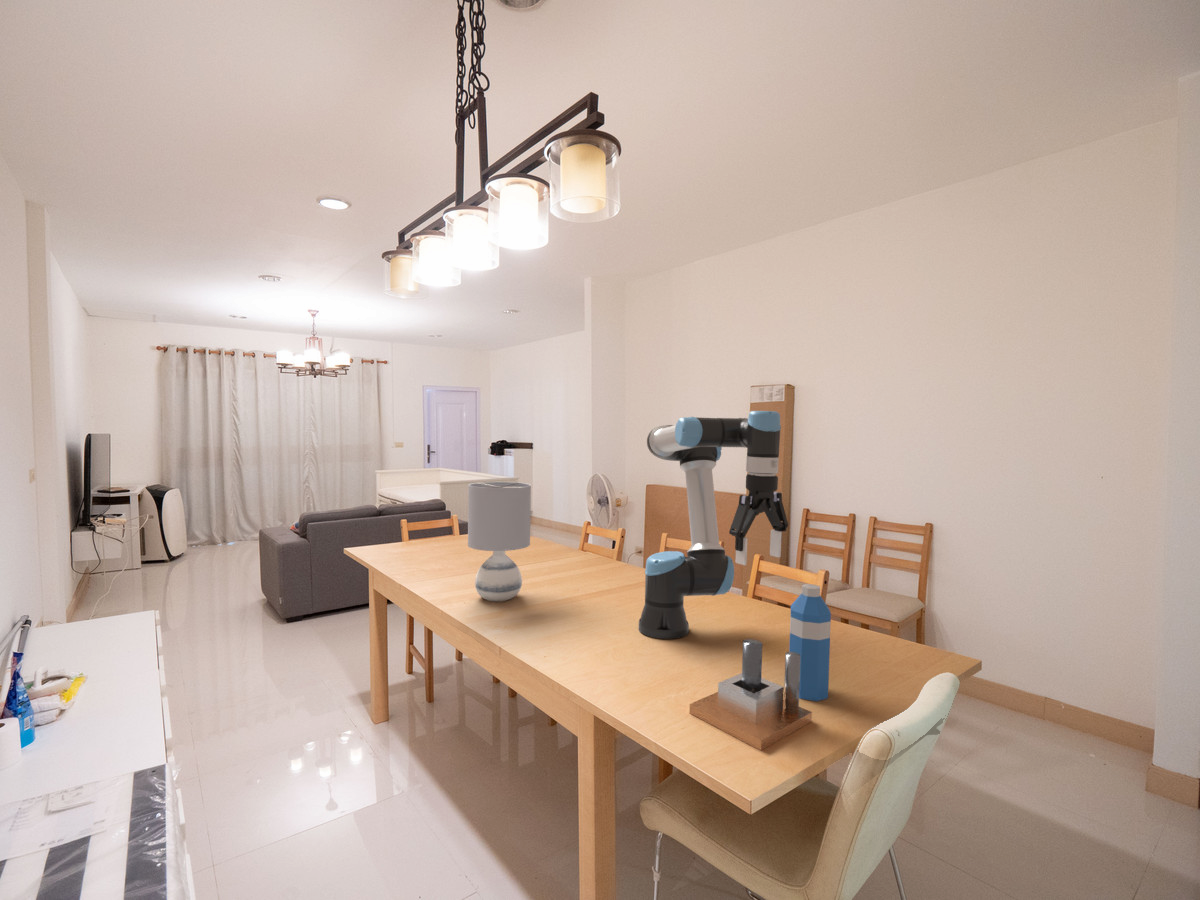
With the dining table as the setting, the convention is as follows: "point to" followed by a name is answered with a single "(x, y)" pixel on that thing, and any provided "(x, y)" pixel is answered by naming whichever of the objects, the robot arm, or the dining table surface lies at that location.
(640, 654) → the dining table surface
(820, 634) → the water bottle
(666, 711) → the dining table surface
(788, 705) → the peg insertion fixture
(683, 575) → the robot arm
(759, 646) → the square metal peg
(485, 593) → the lamp
